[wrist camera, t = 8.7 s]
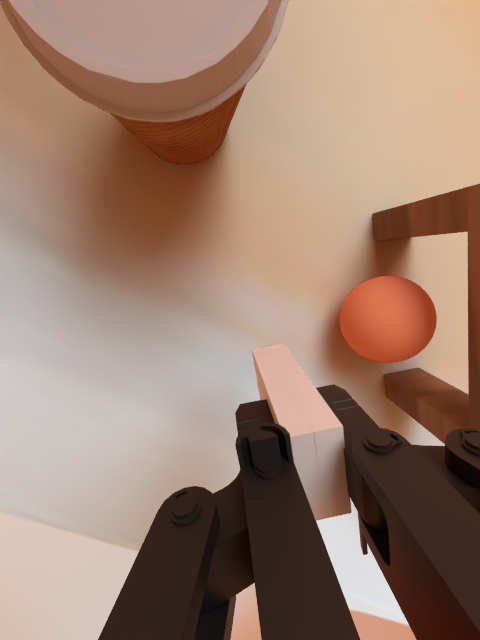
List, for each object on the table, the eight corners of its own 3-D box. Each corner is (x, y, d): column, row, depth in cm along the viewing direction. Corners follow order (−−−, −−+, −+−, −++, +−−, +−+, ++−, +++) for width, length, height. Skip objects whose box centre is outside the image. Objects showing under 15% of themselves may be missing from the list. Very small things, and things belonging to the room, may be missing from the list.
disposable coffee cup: (278, 86, 20) (369, -160, 8) (210, 216, 21) (204, 164, 9) (148, -7, 18) (25, -483, 6) (83, 140, 20) (-114, -35, 8)
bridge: (386, 396, 25) (487, 479, 16) (372, 213, 22) (490, 180, 13) (419, 389, 25) (540, 467, 16) (411, 206, 22) (557, 168, 13)
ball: (401, 263, 23) (324, 292, 24) (434, 259, 17) (330, 298, 18) (428, 336, 23) (350, 360, 24) (469, 356, 17) (364, 386, 19)
